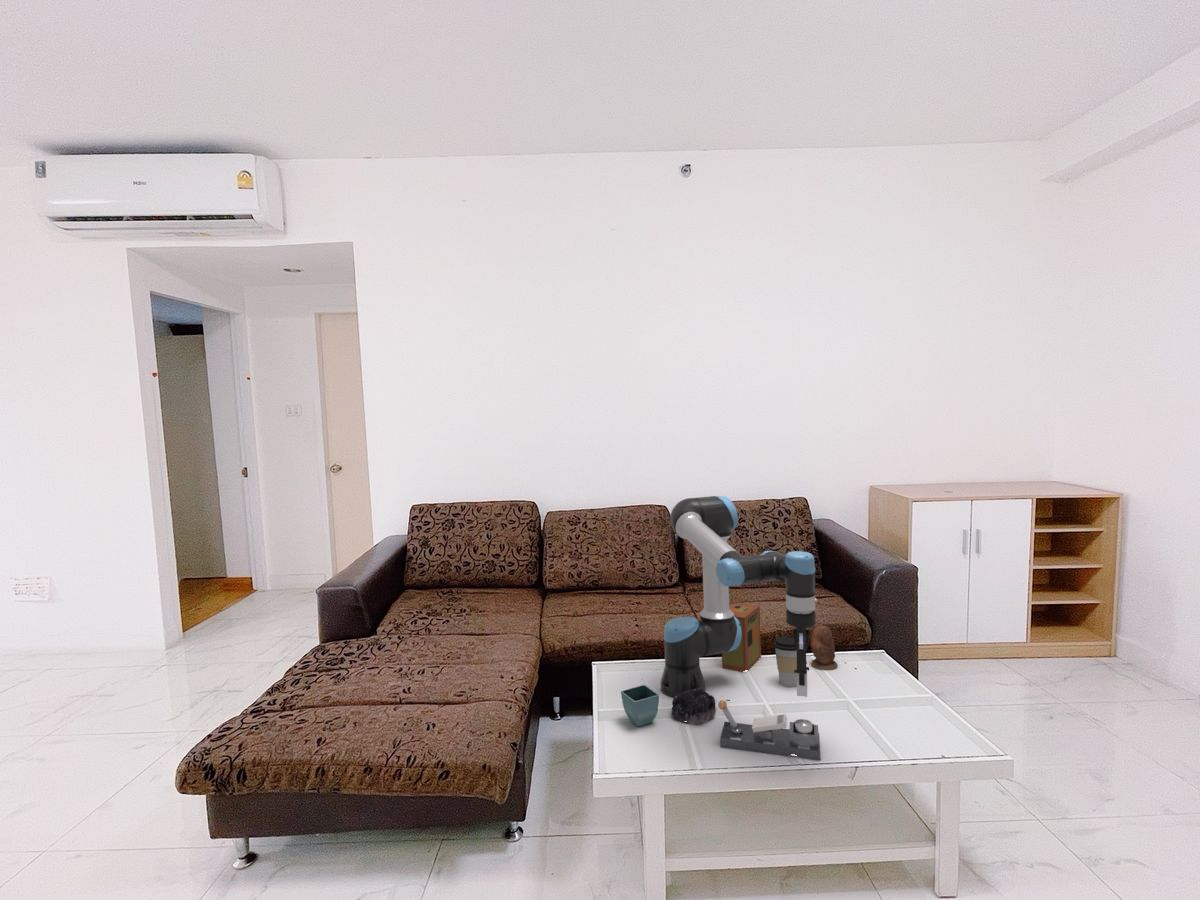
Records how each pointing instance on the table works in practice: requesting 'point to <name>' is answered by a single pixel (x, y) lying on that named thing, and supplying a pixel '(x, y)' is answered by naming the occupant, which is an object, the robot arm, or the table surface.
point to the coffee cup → (786, 660)
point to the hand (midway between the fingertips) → (802, 694)
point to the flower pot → (640, 704)
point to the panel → (772, 740)
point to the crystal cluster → (693, 706)
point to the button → (803, 726)
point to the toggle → (727, 713)
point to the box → (745, 639)
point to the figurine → (823, 648)
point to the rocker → (769, 723)
